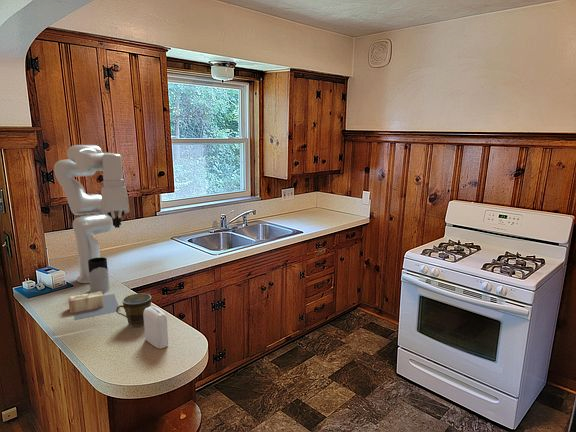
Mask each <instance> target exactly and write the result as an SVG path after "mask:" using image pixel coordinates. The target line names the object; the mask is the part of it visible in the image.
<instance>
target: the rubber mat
mask: <svg viewBox="0 0 576 432" xmlns="http://www.w3.org/2000/svg"><path fill="white" fill-rule="evenodd" d="M103 303H104V307H100V308H95V309H90V310H85V311H79V312H74V313H73V316H74V321H78V320H82V319H89V318H93V317H97V316H98V317H99V316H102V315H103V316H104V315H107V314H113V313H117V312H116V309H117V307H118V306H120V305H119V303H118V301H117V298H116V295H115V293H111V294H106V295H103ZM118 312H119V313H120V312H121V307H120V308H119V309H118Z"/></svg>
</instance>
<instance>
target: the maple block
mask: <svg viewBox="0 0 576 432" xmlns="http://www.w3.org/2000/svg"><path fill="white" fill-rule="evenodd" d="M103 296H104V293H102V291H100V292H94V293H90V292H89V293H83V294H78V295H77V294H76V295H70V296H67V297H68V306H69V313H70V314H74V312H79V311H85V310H90V309H95V308H100V307H104V303H103Z"/></svg>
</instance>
